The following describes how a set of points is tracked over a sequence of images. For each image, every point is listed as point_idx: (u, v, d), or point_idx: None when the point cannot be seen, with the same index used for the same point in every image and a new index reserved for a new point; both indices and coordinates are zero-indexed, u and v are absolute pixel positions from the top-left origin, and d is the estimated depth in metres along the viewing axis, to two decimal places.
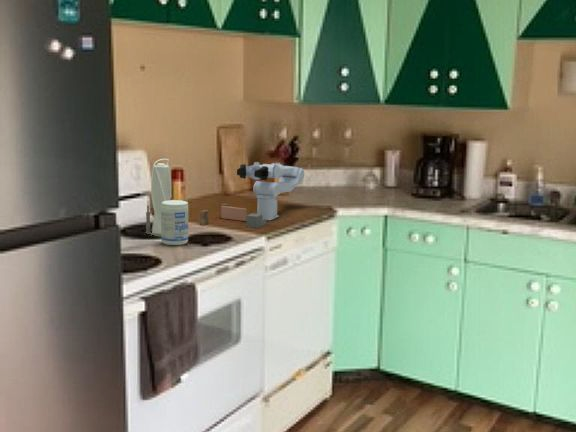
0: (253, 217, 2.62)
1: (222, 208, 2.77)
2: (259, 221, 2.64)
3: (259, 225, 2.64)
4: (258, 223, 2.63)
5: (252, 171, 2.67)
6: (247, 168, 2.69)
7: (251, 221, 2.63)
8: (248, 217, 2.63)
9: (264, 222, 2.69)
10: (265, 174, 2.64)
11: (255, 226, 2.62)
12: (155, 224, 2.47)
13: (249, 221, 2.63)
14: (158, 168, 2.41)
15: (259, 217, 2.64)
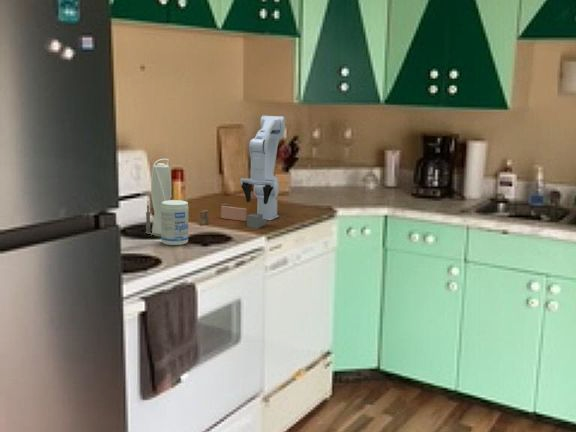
0: (254, 217, 2.62)
1: (222, 208, 2.77)
2: (259, 221, 2.64)
3: (259, 225, 2.64)
4: (258, 223, 2.63)
5: (255, 184, 2.64)
6: (247, 181, 2.64)
7: (252, 221, 2.63)
8: (248, 217, 2.63)
9: (264, 222, 2.69)
10: None
11: (256, 226, 2.62)
12: (155, 224, 2.47)
13: (249, 221, 2.63)
14: (158, 168, 2.41)
15: (259, 217, 2.64)
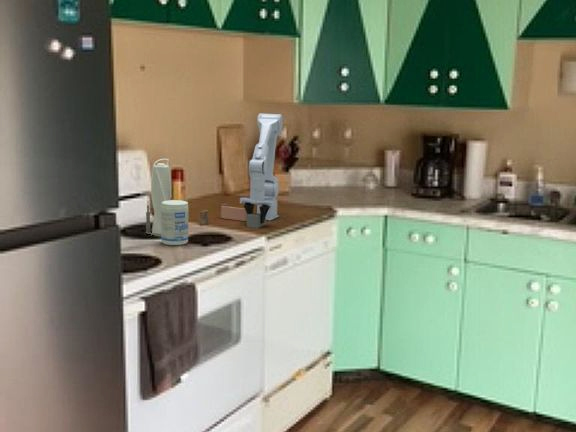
0: (253, 217, 2.62)
1: (222, 208, 2.77)
2: (259, 221, 2.64)
3: (259, 225, 2.64)
4: (258, 223, 2.63)
5: None
6: (247, 201, 2.66)
7: (251, 221, 2.63)
8: (248, 217, 2.63)
9: (264, 222, 2.69)
10: None
11: (255, 226, 2.62)
12: (155, 224, 2.47)
13: (249, 221, 2.63)
14: (158, 168, 2.41)
15: (259, 217, 2.64)
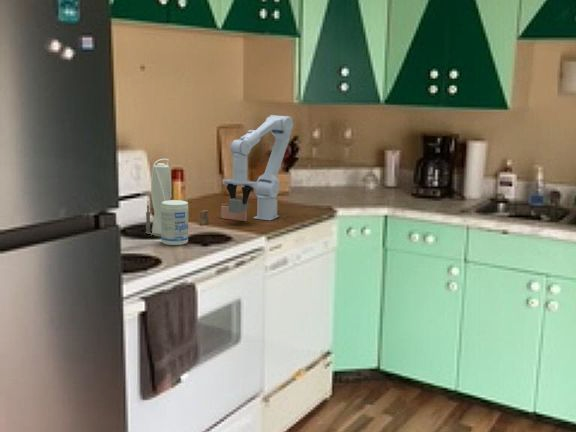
0: (235, 201, 2.63)
1: (222, 208, 2.77)
2: (241, 205, 2.65)
3: (241, 209, 2.66)
4: (240, 207, 2.64)
5: None
6: None
7: (233, 205, 2.64)
8: (230, 201, 2.64)
9: (246, 206, 2.70)
10: None
11: (237, 210, 2.64)
12: (155, 224, 2.47)
13: (231, 205, 2.64)
14: (158, 168, 2.41)
15: (241, 201, 2.65)
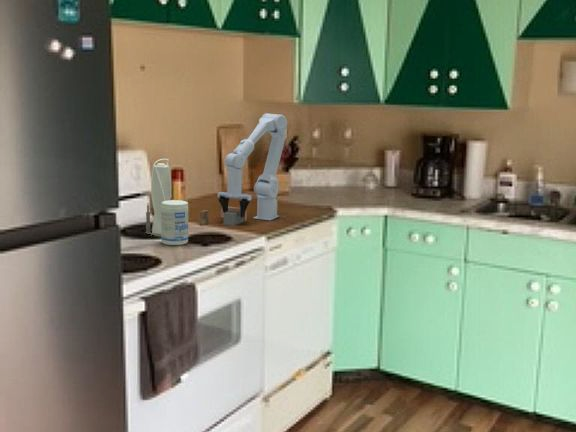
0: (230, 215, 2.65)
1: None
2: (236, 219, 2.67)
3: (236, 222, 2.68)
4: (235, 220, 2.66)
5: None
6: None
7: (228, 218, 2.66)
8: (225, 215, 2.66)
9: (241, 220, 2.72)
10: None
11: (232, 223, 2.66)
12: (155, 224, 2.47)
13: (226, 218, 2.66)
14: (158, 168, 2.41)
15: (236, 215, 2.67)
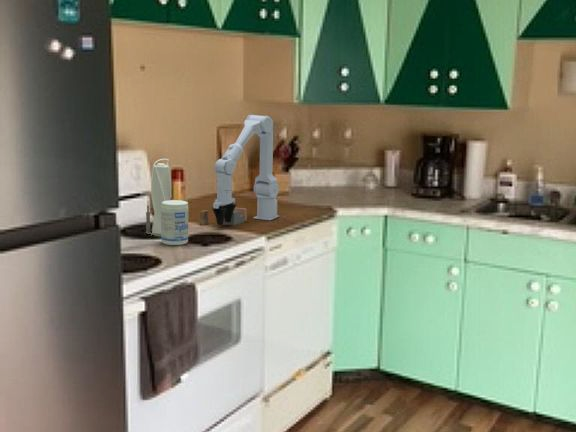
0: None
1: None
2: (236, 218, 2.68)
3: (236, 222, 2.68)
4: (235, 220, 2.67)
5: (224, 204, 2.62)
6: None
7: None
8: None
9: (242, 219, 2.72)
10: None
11: (232, 223, 2.66)
12: (155, 224, 2.47)
13: None
14: (158, 168, 2.41)
15: (236, 214, 2.67)
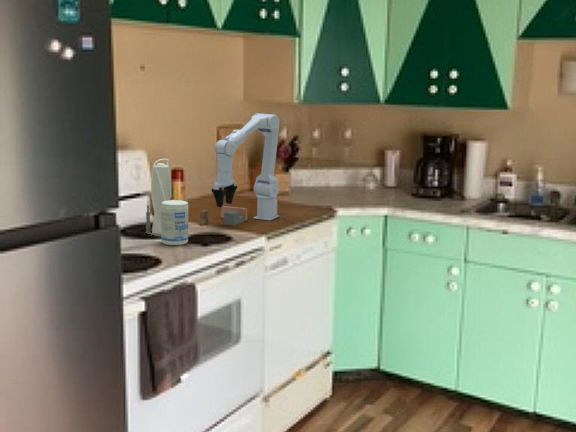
0: (230, 214, 2.65)
1: (222, 208, 2.77)
2: (236, 218, 2.67)
3: (236, 222, 2.68)
4: (235, 220, 2.67)
5: (225, 186, 2.61)
6: None
7: (228, 218, 2.66)
8: (225, 214, 2.66)
9: (241, 220, 2.72)
10: None
11: (232, 223, 2.66)
12: (155, 224, 2.47)
13: (226, 218, 2.66)
14: (158, 168, 2.41)
15: (236, 214, 2.67)
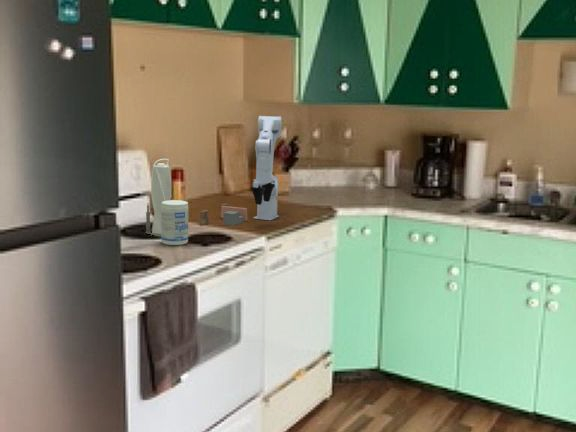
0: (229, 214, 2.65)
1: (222, 208, 2.77)
2: (235, 218, 2.67)
3: (236, 222, 2.68)
4: (234, 220, 2.67)
5: (263, 184, 2.65)
6: None
7: (227, 218, 2.66)
8: (225, 214, 2.66)
9: (241, 219, 2.72)
10: None
11: (231, 223, 2.66)
12: (155, 224, 2.47)
13: (225, 218, 2.66)
14: (158, 168, 2.41)
15: (235, 214, 2.67)
